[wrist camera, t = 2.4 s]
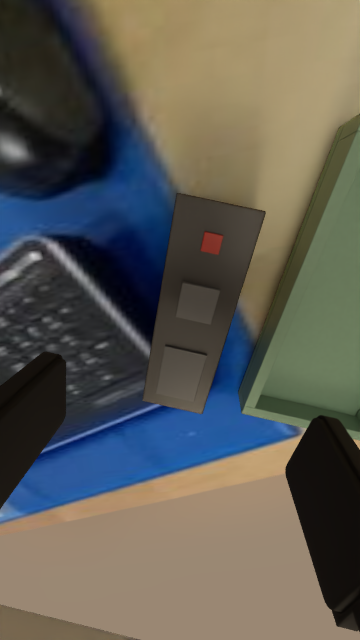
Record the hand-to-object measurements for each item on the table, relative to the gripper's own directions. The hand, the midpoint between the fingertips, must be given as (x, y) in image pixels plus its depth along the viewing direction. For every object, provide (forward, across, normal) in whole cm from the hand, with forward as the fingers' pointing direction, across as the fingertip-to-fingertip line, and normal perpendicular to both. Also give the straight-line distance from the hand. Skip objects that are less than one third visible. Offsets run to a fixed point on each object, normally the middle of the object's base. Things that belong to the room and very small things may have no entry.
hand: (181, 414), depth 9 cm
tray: (+10, -10, -3) cm, 15 cm away
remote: (+10, 0, -1) cm, 10 cm away
